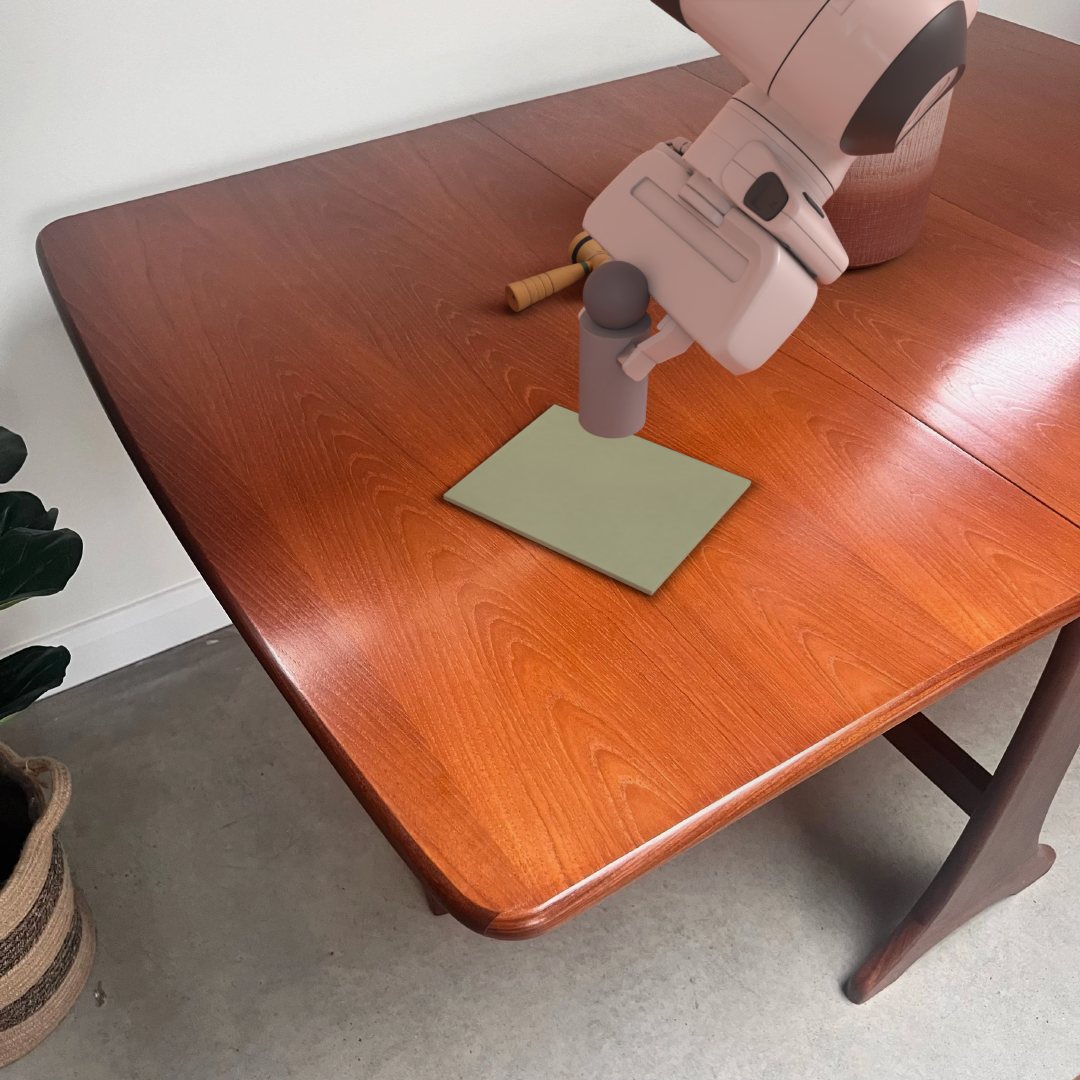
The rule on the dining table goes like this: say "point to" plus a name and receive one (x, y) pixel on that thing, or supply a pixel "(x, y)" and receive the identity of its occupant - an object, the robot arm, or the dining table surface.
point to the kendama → (558, 273)
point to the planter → (887, 193)
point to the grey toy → (612, 350)
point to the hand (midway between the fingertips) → (606, 349)
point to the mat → (600, 497)
